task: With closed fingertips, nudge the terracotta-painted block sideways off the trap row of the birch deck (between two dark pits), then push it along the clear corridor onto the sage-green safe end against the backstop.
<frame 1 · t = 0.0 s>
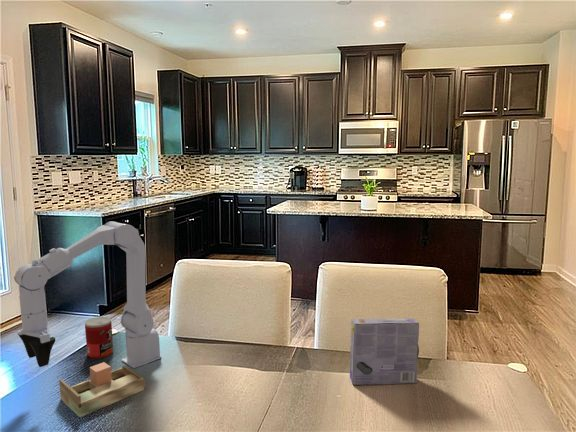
hand: (38, 360, 114), 10 cm above the table, fingers open, 7 cm apart
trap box: (103, 394, 117), on the table
canned food: (100, 354, 141), on the table
block: (101, 380, 119), point 2 cm above the table, touching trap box
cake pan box: (384, 381, 123), on the table
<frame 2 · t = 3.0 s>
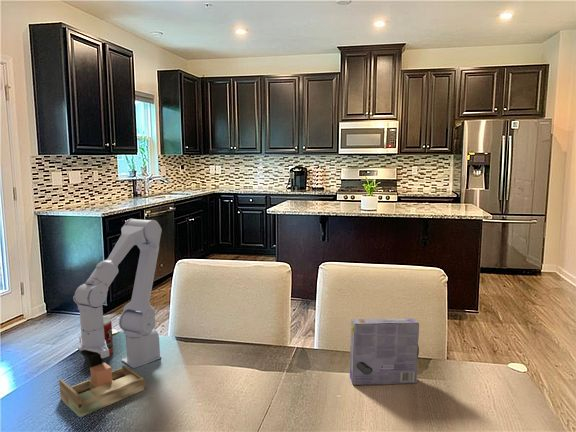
hand: (95, 374, 121), 3 cm above the table, fingers closed, pressing on block
block: (101, 381, 119), point 2 cm above the table, touching gripper
everything else where it was.
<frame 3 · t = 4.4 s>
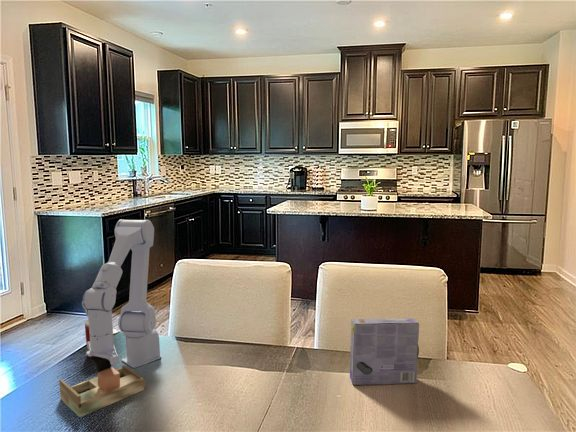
hand: (104, 380, 117), 3 cm above the table, fingers closed, pressing on block
block: (109, 386, 116), point 3 cm above the table, tilted 5°, touching gripper, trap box
everything else where it was.
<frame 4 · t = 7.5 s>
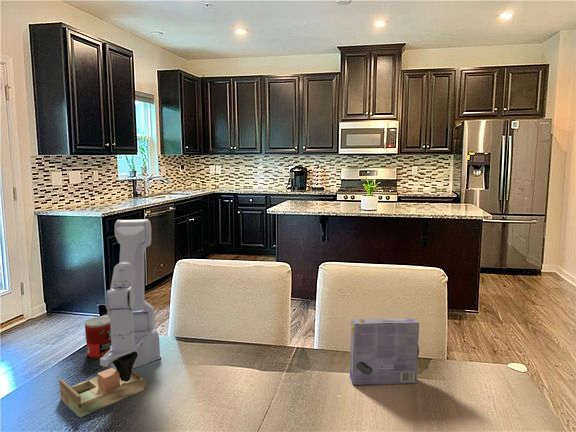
hand: (125, 379, 118), 3 cm above the table, fingers closed
block: (109, 387, 116), point 2 cm above the table, touching gripper, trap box
everything else where it was.
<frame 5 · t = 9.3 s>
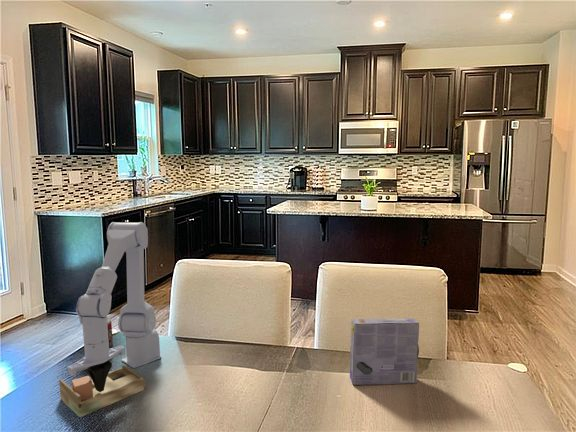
hand: (99, 390, 113), 3 cm above the table, fingers closed
block: (83, 395, 112), point 2 cm above the table, touching gripper, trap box
everything else where it was.
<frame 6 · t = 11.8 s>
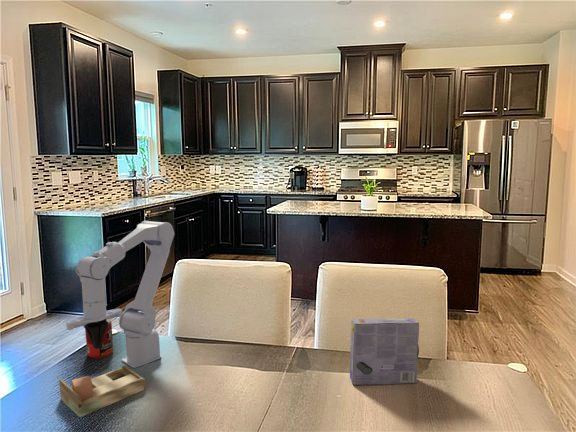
hand: (97, 347, 122), 10 cm above the table, fingers closed
block: (83, 395, 112), point 2 cm above the table, touching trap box
everything else where it was.
at the end: block 1.6 cm from the target spot on the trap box, point 2.4 cm above the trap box's base; block tilted 0° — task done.
